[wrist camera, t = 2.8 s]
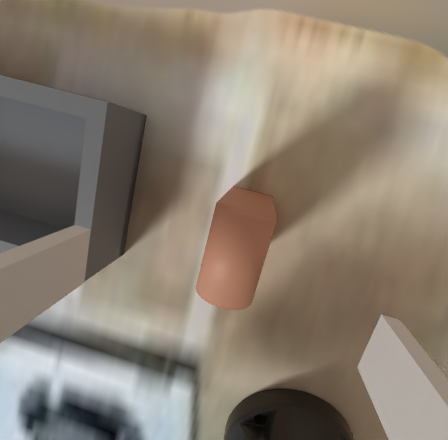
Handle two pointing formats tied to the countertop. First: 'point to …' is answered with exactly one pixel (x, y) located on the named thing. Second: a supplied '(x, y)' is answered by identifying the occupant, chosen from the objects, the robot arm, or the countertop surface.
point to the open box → (66, 168)
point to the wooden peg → (236, 248)
